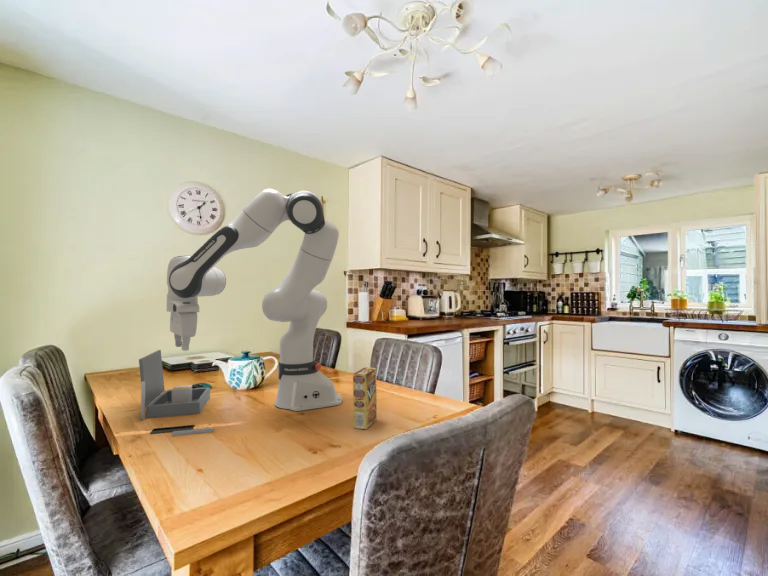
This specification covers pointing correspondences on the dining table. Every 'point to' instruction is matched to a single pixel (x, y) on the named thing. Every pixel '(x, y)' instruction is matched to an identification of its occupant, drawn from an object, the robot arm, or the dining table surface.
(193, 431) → the rod
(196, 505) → the dining table surface
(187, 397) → the block
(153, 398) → the lid
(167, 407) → the case
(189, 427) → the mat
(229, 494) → the dining table surface
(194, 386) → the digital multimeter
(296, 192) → the robot arm
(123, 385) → the dining table surface
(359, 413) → the candy box
